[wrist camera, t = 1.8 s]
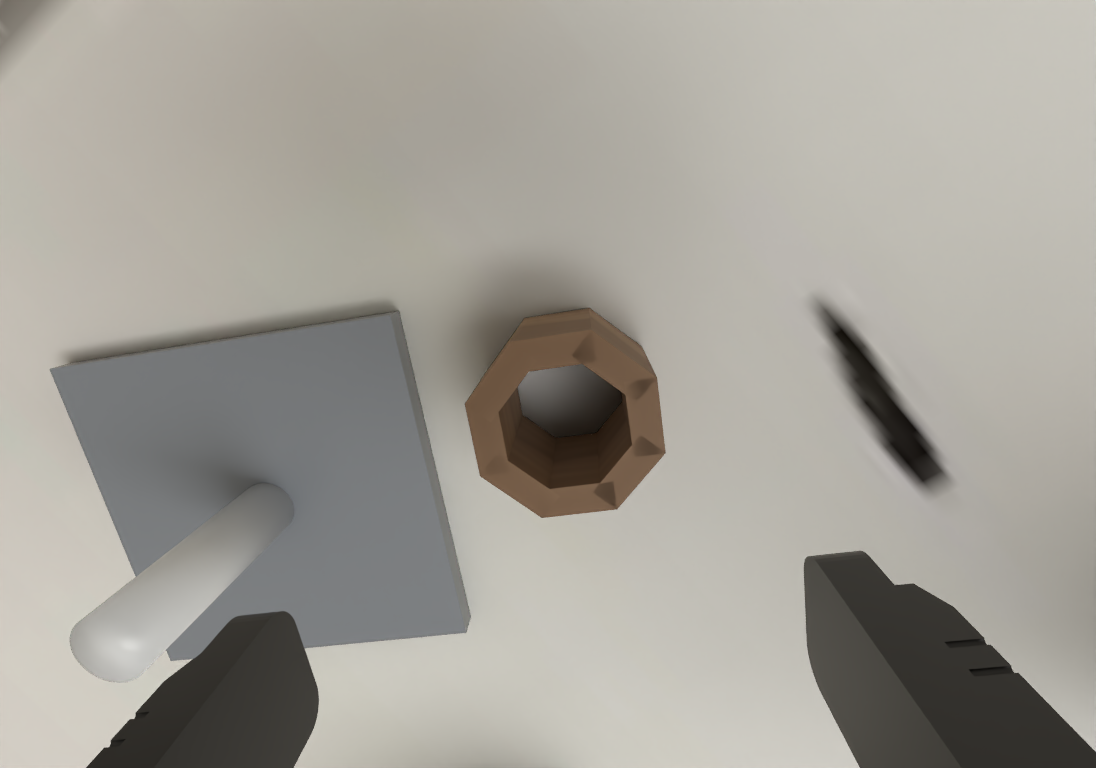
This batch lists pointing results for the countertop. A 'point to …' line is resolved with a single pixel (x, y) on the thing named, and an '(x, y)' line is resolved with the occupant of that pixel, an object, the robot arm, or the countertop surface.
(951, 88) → the countertop surface
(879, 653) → the robot arm
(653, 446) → the walnut collar
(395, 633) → the post stand
